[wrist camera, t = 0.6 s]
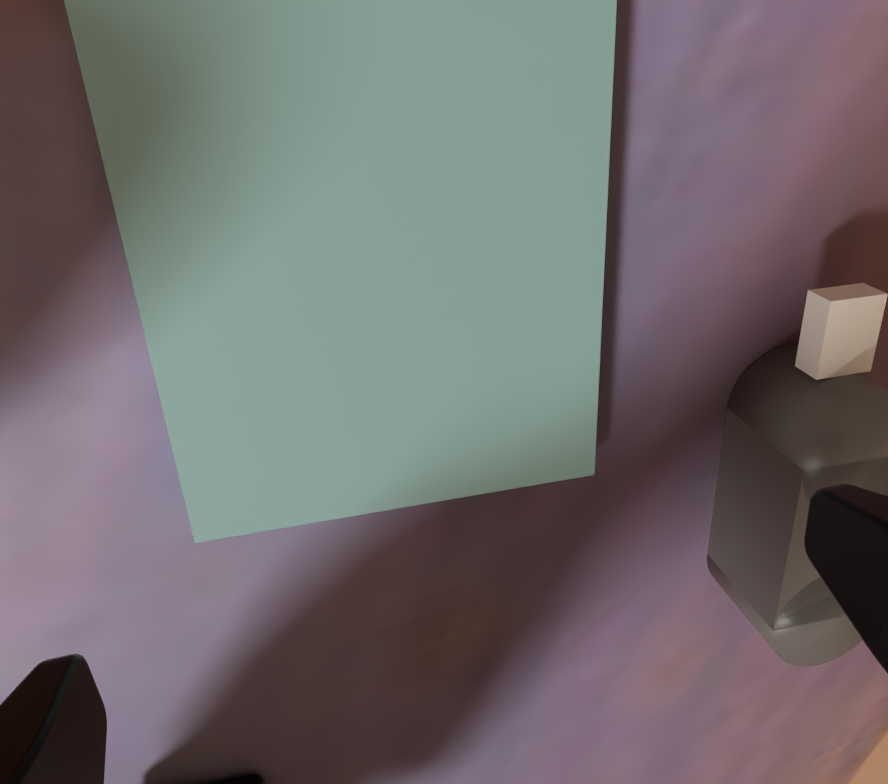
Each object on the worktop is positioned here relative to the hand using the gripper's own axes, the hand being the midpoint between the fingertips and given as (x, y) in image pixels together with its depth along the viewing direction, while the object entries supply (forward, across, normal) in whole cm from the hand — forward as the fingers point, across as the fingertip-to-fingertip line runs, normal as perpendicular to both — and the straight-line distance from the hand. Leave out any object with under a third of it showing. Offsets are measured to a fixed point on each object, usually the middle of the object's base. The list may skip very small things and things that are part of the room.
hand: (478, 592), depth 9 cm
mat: (+13, -1, -1) cm, 13 cm away
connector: (+13, -13, +8) cm, 20 cm away
